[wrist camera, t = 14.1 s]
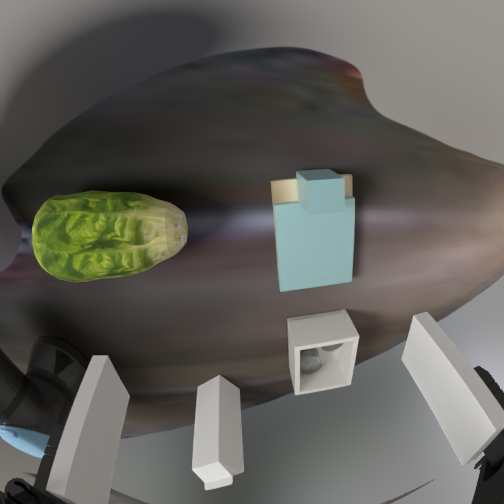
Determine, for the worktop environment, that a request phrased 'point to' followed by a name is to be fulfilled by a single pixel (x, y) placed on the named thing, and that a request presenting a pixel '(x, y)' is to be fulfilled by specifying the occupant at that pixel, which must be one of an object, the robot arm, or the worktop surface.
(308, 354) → the part
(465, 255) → the worktop surface
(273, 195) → the board
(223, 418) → the milk
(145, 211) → the lettuce
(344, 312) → the tub
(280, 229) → the lid
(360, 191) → the worktop surface
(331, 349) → the part
